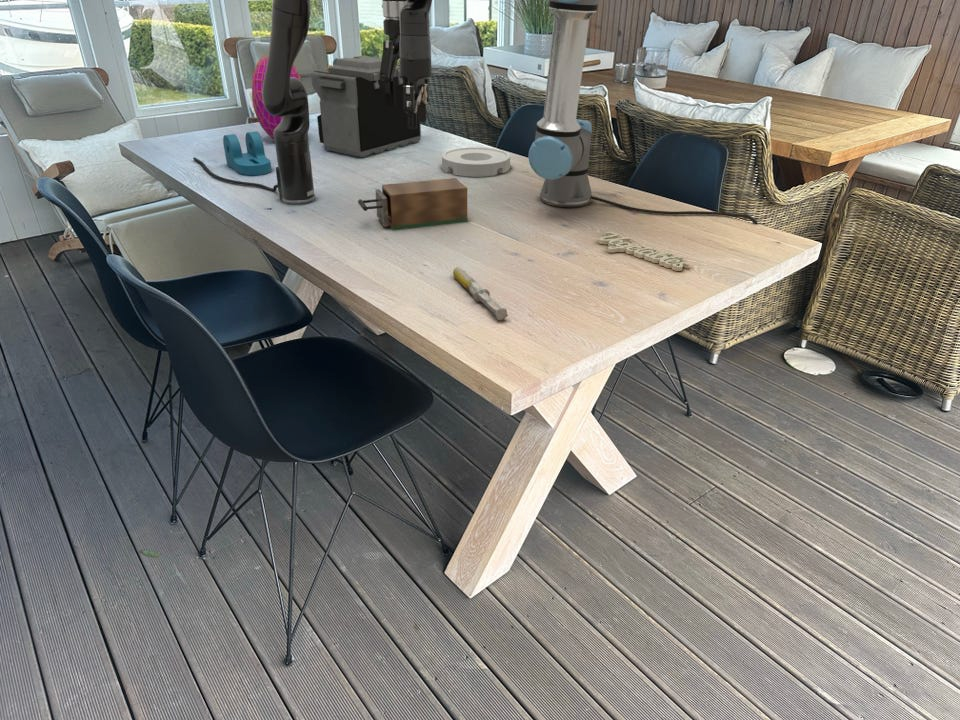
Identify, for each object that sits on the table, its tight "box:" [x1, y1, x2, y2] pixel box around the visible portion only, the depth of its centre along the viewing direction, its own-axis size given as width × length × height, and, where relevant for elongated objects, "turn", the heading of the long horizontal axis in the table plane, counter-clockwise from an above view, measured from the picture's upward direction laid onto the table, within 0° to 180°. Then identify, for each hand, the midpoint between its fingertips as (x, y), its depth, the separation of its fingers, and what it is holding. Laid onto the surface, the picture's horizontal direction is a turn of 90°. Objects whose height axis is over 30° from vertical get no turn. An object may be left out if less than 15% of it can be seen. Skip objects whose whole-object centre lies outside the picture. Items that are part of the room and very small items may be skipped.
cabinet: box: [381, 177, 468, 231], centre depth 185 cm, size 21×10×9 cm, turn 110°
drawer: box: [357, 188, 391, 227], centre depth 183 cm, size 25×8×7 cm, turn 110°
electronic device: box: [310, 55, 422, 159], centre depth 250 cm, size 37×22×30 cm, turn 144°
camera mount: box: [222, 131, 272, 176], centre depth 226 cm, size 18×10×10 cm, turn 35°
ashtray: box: [441, 146, 511, 178], centre depth 232 cm, size 23×23×4 cm
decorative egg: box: [251, 55, 303, 140], centre depth 257 cm, size 19×19×30 cm
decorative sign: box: [598, 231, 690, 272], centre depth 167 cm, size 26×1×10 cm
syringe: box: [452, 266, 509, 321], centre depth 145 cm, size 25×4×3 cm, turn 21°
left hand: (417, 125), depth 173 cm, fingers open, 8 cm apart
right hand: (401, 101), depth 195 cm, fingers open, 13 cm apart
